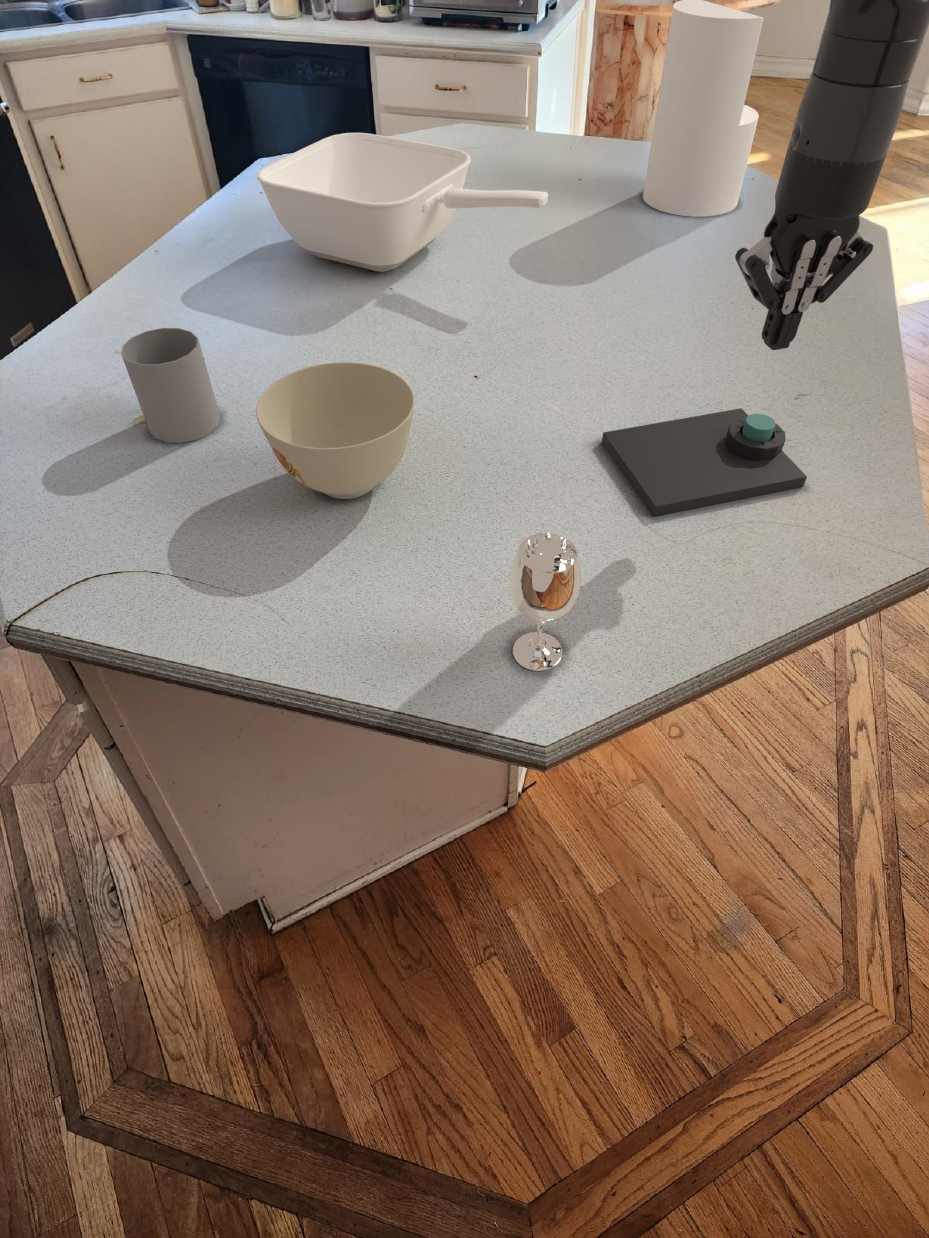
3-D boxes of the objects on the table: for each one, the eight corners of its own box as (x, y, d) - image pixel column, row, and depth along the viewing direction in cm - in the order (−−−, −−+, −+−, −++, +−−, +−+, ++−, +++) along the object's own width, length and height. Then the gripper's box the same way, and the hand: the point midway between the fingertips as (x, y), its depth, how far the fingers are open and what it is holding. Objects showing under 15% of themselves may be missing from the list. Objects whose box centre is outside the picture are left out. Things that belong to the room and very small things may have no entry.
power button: (761, 425, 87) (765, 411, 85) (776, 440, 84) (781, 427, 83) (736, 429, 86) (740, 416, 85) (751, 445, 84) (755, 431, 83)
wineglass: (501, 672, 66) (506, 574, 57) (509, 623, 70) (515, 524, 61) (567, 680, 65) (582, 582, 56) (572, 631, 69) (587, 532, 60)
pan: (352, 209, 138) (343, 124, 128) (573, 257, 124) (582, 166, 114) (258, 265, 122) (239, 173, 112) (499, 327, 108) (503, 228, 98)
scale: (742, 417, 92) (749, 395, 90) (807, 486, 83) (816, 463, 81) (601, 442, 89) (604, 420, 87) (653, 516, 80) (658, 494, 78)
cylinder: (678, 223, 133) (717, 23, 112) (624, 191, 143) (651, 2, 123) (757, 207, 138) (808, 12, 117) (699, 177, 148) (737, -6, 127)
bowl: (267, 452, 88) (248, 374, 80) (401, 430, 91) (395, 352, 83) (284, 541, 77) (264, 461, 70) (435, 513, 80) (431, 433, 73)
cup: (231, 427, 91) (210, 349, 84) (166, 451, 88) (138, 373, 81) (202, 396, 96) (179, 320, 88) (139, 419, 93) (110, 342, 85)
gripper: (792, 165, 57) (733, 375, 70) (940, 149, 60) (857, 354, 72) (741, 137, 62) (695, 337, 75) (880, 122, 64) (812, 319, 77)
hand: (775, 345), depth 74 cm, fingers closed
